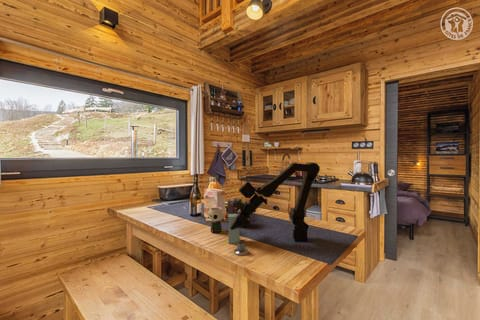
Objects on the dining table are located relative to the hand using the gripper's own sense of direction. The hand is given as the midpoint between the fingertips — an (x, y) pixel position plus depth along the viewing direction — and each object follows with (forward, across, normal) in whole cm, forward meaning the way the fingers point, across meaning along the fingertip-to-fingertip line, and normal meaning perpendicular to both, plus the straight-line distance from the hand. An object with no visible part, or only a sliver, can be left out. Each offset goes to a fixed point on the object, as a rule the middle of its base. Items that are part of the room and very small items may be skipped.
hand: (231, 227), depth 111 cm
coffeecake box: (+13, -42, -3) cm, 44 cm away
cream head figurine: (+11, -15, -1) cm, 18 cm away
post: (+2, +13, +8) cm, 15 cm away
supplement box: (+4, -25, +7) cm, 26 cm away
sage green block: (+4, 0, +6) cm, 7 cm away
